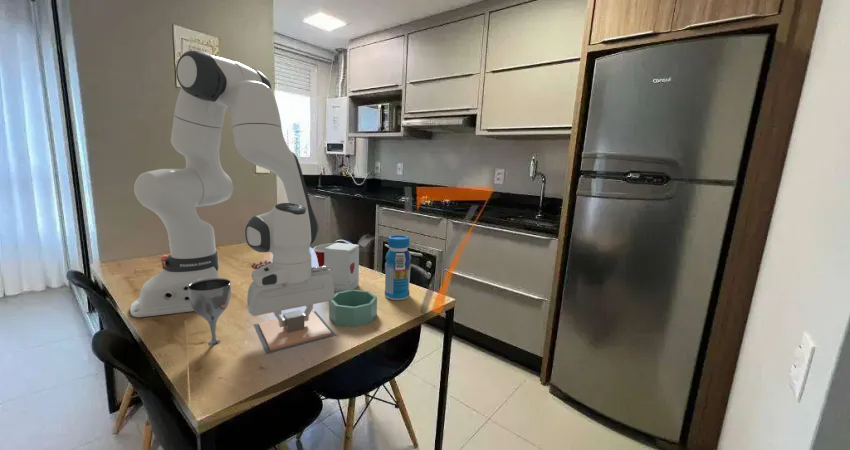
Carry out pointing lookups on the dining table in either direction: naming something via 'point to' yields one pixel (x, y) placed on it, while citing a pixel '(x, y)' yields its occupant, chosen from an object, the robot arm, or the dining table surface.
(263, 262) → the chocolate bar
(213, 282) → the wine glass
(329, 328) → the mat
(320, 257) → the plastic cup
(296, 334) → the cover
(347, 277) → the supplement box
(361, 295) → the bowl
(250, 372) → the dining table surface
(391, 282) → the beverage bottle
